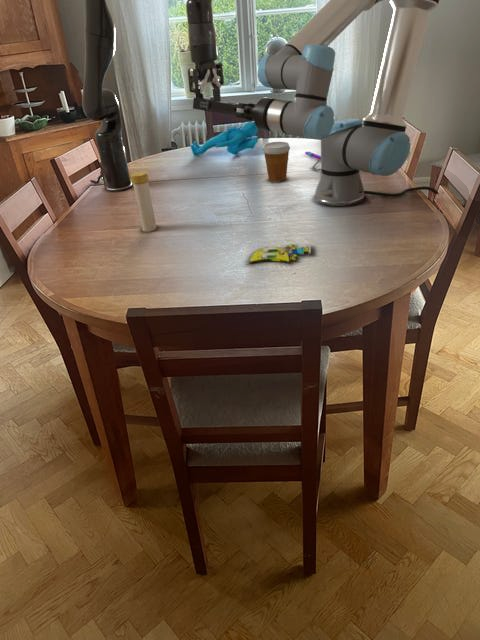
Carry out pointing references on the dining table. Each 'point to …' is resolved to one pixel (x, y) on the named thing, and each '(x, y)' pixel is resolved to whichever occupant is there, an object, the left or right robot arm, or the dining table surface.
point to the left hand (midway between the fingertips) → (209, 104)
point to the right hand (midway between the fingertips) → (211, 105)
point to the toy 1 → (231, 140)
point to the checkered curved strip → (315, 157)
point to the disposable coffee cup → (276, 160)
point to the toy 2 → (278, 254)
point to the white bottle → (145, 206)
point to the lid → (139, 177)
